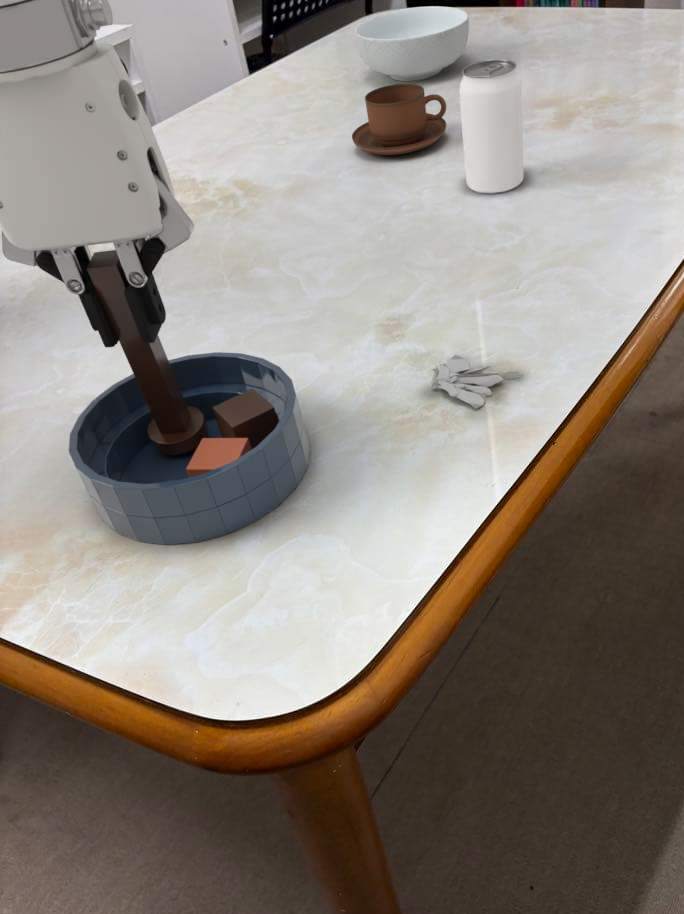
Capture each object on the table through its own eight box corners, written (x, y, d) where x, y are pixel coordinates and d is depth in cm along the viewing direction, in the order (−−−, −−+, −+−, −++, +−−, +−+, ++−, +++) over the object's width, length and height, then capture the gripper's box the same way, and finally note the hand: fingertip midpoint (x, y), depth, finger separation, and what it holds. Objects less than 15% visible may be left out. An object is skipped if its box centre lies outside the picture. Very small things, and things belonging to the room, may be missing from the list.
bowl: (70, 558, 59) (37, 499, 56) (127, 420, 71) (103, 363, 67) (299, 539, 58) (281, 476, 54) (319, 401, 70) (305, 342, 66)
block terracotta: (200, 507, 61) (185, 468, 59) (215, 475, 63) (202, 437, 61) (246, 507, 60) (233, 469, 58) (260, 475, 63) (248, 437, 60)
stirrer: (147, 457, 65) (63, 281, 54) (158, 419, 68) (80, 244, 57) (203, 452, 64) (130, 273, 53) (212, 414, 67) (144, 237, 56)
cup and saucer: (421, 121, 115) (416, 71, 111) (464, 145, 107) (460, 91, 102) (340, 145, 112) (331, 94, 108) (377, 171, 104) (369, 118, 100)
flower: (509, 362, 72) (513, 333, 70) (534, 416, 66) (539, 386, 64) (421, 366, 71) (422, 337, 69) (438, 421, 65) (440, 390, 63)
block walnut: (244, 465, 64) (232, 427, 61) (224, 444, 66) (211, 407, 64) (285, 445, 65) (274, 407, 63) (263, 425, 67) (252, 387, 65)
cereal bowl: (373, 99, 124) (366, 45, 119) (352, 70, 136) (344, 20, 131) (485, 75, 125) (482, 21, 121) (454, 49, 138) (450, -2, 133)
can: (455, 191, 97) (445, 76, 88) (485, 169, 100) (478, 56, 92) (505, 198, 93) (500, 79, 85) (534, 175, 97) (531, 59, 89)
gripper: (175, -3, 48) (255, 296, 61) (-89, 36, 50) (42, 319, 62) (144, 33, 43) (239, 352, 55) (-152, 75, 44) (6, 376, 57)
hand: (134, 333), depth 59 cm, fingers closed on stirrer, 2 cm apart
